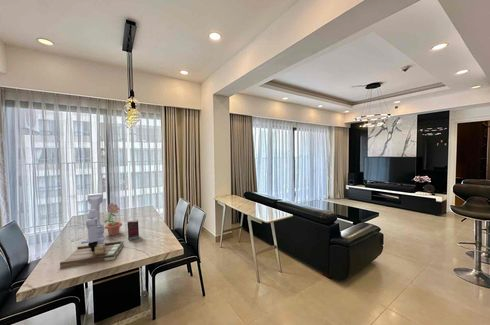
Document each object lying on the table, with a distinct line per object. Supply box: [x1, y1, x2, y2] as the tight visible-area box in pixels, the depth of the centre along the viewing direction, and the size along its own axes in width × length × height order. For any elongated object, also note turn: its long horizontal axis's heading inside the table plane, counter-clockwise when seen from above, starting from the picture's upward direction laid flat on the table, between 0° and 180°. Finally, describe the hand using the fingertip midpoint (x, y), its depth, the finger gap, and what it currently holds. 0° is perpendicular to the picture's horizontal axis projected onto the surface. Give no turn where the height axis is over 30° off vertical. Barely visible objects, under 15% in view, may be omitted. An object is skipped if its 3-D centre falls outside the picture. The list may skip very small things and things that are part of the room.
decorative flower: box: [104, 202, 123, 236], centre depth 188 cm, size 15×14×30 cm
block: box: [95, 244, 105, 254], centre depth 150 cm, size 5×5×5 cm
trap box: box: [59, 240, 125, 268], centre depth 150 cm, size 24×32×4 cm
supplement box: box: [127, 219, 140, 241], centre depth 179 cm, size 9×5×16 cm, turn 120°
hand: (93, 251), depth 149 cm, fingers closed
